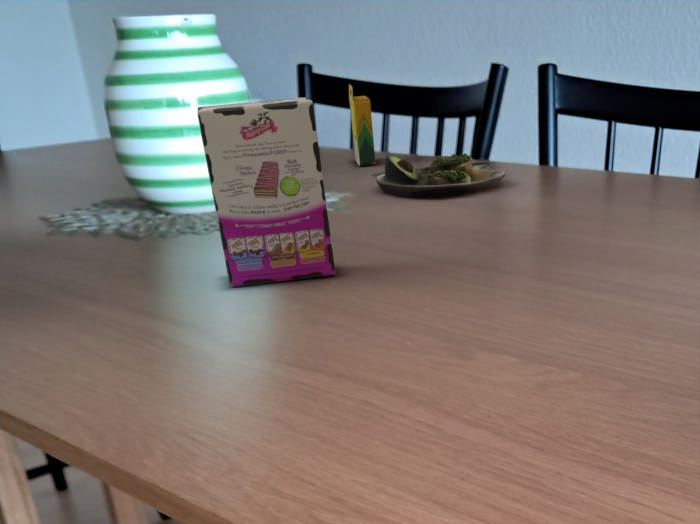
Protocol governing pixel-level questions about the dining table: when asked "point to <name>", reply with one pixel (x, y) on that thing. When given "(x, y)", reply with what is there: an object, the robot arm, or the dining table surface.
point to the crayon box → (362, 129)
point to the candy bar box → (268, 190)
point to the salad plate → (436, 177)
